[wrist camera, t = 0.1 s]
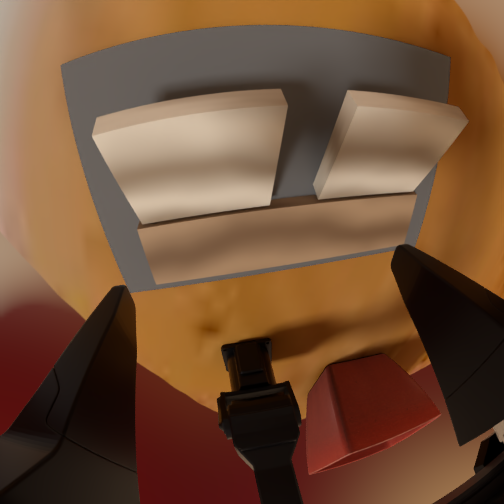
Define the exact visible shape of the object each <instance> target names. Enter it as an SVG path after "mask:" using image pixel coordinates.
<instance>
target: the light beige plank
mask: <svg viewBox="0 0 504 504" xmlns="http://www.w3.org/2000/svg"><path fill="white" fill-rule="evenodd" d="M468 122H469V120H468V119H467V118H466V116H465V115H464V113H463V112H462V111H461V109H460V108H459V107H457V106H453V105H449V104H444V103H440V102H435V101H430V100H425V99H419V98H413V97H407V96H400V95H393V94H385V93H376V92H366V91H355V90H347V93H346V96H345V98H344V101H343V104H342V107H341V110H340V113H339V115H338V118H337V121H336V124H335V127H334V129H333V132H332V135H331V138H330V140H329V143H328V146H327V149H326V151H325V154H324V157H323V159H322V162H321V165H320V167H319V170H318V173H317V175H316V178H315V181H314V183H313V186H314V189H315V192H316V195H317V198H318V200H320V199H329V198H339V197H350V196H361V195H372V194H385V193H398V192H413V191H414V190H415V188H416V187H417V186H418V185H419V184H420V183H421V181H422V180H423V179H424V178H425V177H426V175H427V174H428V173H429V172H430V171H431V169H432V168H433V167H434V166H435V165H436V163H437V162H438V161H439V160H440V158H441V157H442V156H443V155H444V153H445V152H446V151H447V150H448V148H449V147H450V146H451V144H452V143H453V142H454V141H455V139H456V138H457V137H458V135H459V134H460V133H461V131H462V130H463V129H464V127H465V126H466V125H467V123H468Z"/></svg>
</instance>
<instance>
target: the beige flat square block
mask: <svg viewBox="0 0 504 504" xmlns="http://www.w3.org/2000/svg"><path fill="white" fill-rule="evenodd" d="M287 108H288V104H287V102H286V100H285V97H284V95H283V93H282V90H281V89H262V90H246V91H234V92H224V93H215V94H207V95H199V96H192V97H186V98H180V99H174V100H168V101H163V102H158V103H153V104H148V105H143V106H139V107H135V108H130V109H126V110H122V111H118V112H115V113H111V114H107V115H104V116H100V117H97V118H96V122H95V125H94V129H93V133H92V138H93V140H94V141H95V143H96V145H97V147H98V149H99V151H100V153H101V154H102V156H103V158H104V160H105V162H106V164H107V165H108V167H109V169H110V171H111V172H112V174H113V176H114V178H115V179H116V181H117V183H118V185H119V186H120V188H121V190H122V191H123V193H124V195H125V196H126V198H127V200H128V202H129V203H130V205H131V206H132V208H133V210H134V211H135V213H136V215H137V216H138V218H139V220H140V221H141V223H142V224H148V223H154V222H160V221H166V220H172V219H178V218H184V217H190V216H197V215H203V214H210V213H217V212H224V211H231V210H238V209H245V208H253V207H260V206H268V205H270V201H271V196H272V191H273V185H274V180H275V174H276V169H277V163H278V158H279V153H280V147H281V141H282V136H283V130H284V125H285V119H286V114H287Z"/></svg>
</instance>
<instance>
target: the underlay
mask: <svg viewBox="0 0 504 504" xmlns="http://www.w3.org/2000/svg"><path fill="white" fill-rule="evenodd" d="M450 59H451V57H448V56H445V55H443V54H440V53H437V52H434V51H431V50H428V49H424V48H421V47H418V46H414V45H411V44H407V43H403V42H400V41H396V40H391V39H387V38H383V37H378V36H373V35H368V34H362V33H357V32H350V31H344V30H336V29H328V28H318V27H306V26H288V25H244V26H227V27H214V28H205V29H196V30H189V31H182V32H176V33H170V34H164V35H159V36H154V37H150V38H145V39H141V40H136V41H132V42H129V43H125V44H121V45H117V46H114V47H110V48H107V49H104V50H101V51H98V52H95V53H92V54H89V55H86V56H83V57H80V58H77V59H75V60H72V61H70V62H67V63H65V64H62V65H61V71H62V78H63V84H64V90H65V95H66V101H67V106H68V111H69V115H70V120H71V124H72V129H73V133H74V137H75V141H76V145H77V149H78V152H79V156H80V160H81V163H82V167H83V170H84V173H85V177H86V180H87V183H88V186H89V189H90V193H91V196H92V199H93V202H94V205H95V207H96V210H97V213H98V216H99V219H100V221H101V224H102V227H103V230H104V232H105V235H106V237H107V240H108V242H109V245H110V248H111V250H112V252H113V255H114V257H115V260H116V262H117V264H118V267H119V269H120V271H121V274H122V276H123V278H124V280H125V283H126V285H127V287H128V289H129V291H130V293H133V292H141V291H148V290H155V289H163V288H170V287H177V286H184V285H191V284H197V283H204V282H211V281H217V280H224V279H231V278H237V277H243V276H250V275H256V274H262V273H268V272H275V271H281V270H287V269H293V268H299V267H305V266H310V265H316V264H322V263H328V262H334V261H339V260H345V259H350V258H356V257H361V256H367V255H372V254H378V253H383V252H388V251H394V250H395V249H396V247H397V246H393V247H388V248H382V249H376V250H371V251H365V252H360V253H354V254H348V255H342V256H336V257H331V258H325V259H319V260H313V261H307V262H301V263H295V264H289V265H283V266H276V267H270V268H264V269H258V270H251V271H245V272H238V273H232V274H226V275H219V276H212V277H206V278H199V279H192V280H185V281H179V282H172V283H165V284H158V285H156V283H155V280H154V277H153V275H152V272H151V269H150V266H149V263H148V261H147V258H146V255H145V252H144V249H143V246H142V243H141V240H140V237H139V234H138V231H137V228H138V225H139V221H140V220H139V218H138V216H137V215H136V213H135V211H134V210H133V208H132V206H131V205H130V203H129V202H128V200H127V198H126V196H125V195H124V193H123V191H122V190H121V188H120V186H119V185H118V183H117V181H116V179H115V178H114V176H113V174H112V172H111V171H110V169H109V167H108V165H107V164H106V162H105V160H104V158H103V156H102V154H101V153H100V151H99V149H98V147H97V145H96V143H95V141H94V140H93V138H92V133H93V129H94V125H95V122H96V118H97V117H100V116H104V115H107V114H111V113H115V112H118V111H122V110H126V109H130V108H135V107H139V106H143V105H148V104H153V103H158V102H163V101H168V100H174V99H180V98H186V97H192V96H199V95H207V94H215V93H224V92H234V91H246V90H262V89H281V90H282V93H283V95H284V97H285V100H286V102H287V104H288V108H287V114H286V119H285V125H284V130H283V136H282V141H281V147H280V153H279V158H278V163H277V169H276V174H275V180H274V185H273V191H272V196H271V200H273V199H281V198H290V197H299V196H308V195H316V192H315V189H314V186H313V183H314V181H315V178H316V175H317V173H318V170H319V167H320V165H321V162H322V159H323V157H324V154H325V151H326V149H327V146H328V143H329V140H330V138H331V135H332V132H333V129H334V127H335V124H336V121H337V118H338V115H339V113H340V110H341V107H342V104H343V101H344V98H345V96H346V93H347V90H355V91H366V92H376V93H385V94H393V95H400V96H407V97H413V98H419V99H425V100H430V101H435V102H440V103H444V104H447V100H448V90H449V78H450ZM437 163H438V162H437ZM437 163H436V165H435V166H434V167H433V168H432V169H431V171H430V172H429V173H428V174H427V175H426V177H425V178H424V179H423V180H422V181H421V183H420V184H419V185H418V186H417V187H416V188H415V190H414V192H415V193H416V194H417V198H416V202H415V206H414V210H413V214H412V217H411V221H410V225H409V228H408V232H407V235H406V238H405V242H404V244H409V245H411V246H413V247H414V246H415V245H416V242H417V239H418V236H419V233H420V229H421V226H422V223H423V219H424V216H425V212H426V209H427V205H428V201H429V198H430V194H431V190H432V186H433V181H434V177H435V173H436V168H437Z"/></svg>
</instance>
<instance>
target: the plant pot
mask: <svg viewBox="0 0 504 504" xmlns="http://www.w3.org/2000/svg"><path fill="white" fill-rule="evenodd" d="M440 415H441V413H440V411H439V410H438V408H437V407H436V406H435V404H434V403H433V402H432V400H431V399H430V398H429V397H428V395H427V394H426V393H425V392H424V391H423V389H422V388H421V387H420V386H419V385H418V384H417V382H416V381H415V380H414V379H413V378H412V377H411V376H410V375H409V374H408V373H407V372H406V371H404V370H403V369H402V368H401V367H400V366H399V365H398V364H397V363H395V362H394V361H393V360H392V359H391V358H389V357H388V356H387V355H386V354H379V355H375V356H371V357H366V358H362V359H357V360H352V361H347V362H342V363H338V364H332V365H329V366H328V367H326V368H325V370H324V371H323V373H322V374H321V376H320V377H319V379H318V380H317V382H316V383H315V385H314V386H313V388H312V389H311V391H310V392H309V393H308V398H307V412H306V448H307V462H308V471H309V475H310V474H315V473H319V472H322V471H326V470H329V469H333V468H336V467H339V466H343V465H346V464H348V463H352V462H355V461H357V460H360V459H363V458H365V457H368V456H370V455H373V454H376V453H378V452H380V451H383V450H385V449H387V448H390V447H391V446H393V445H395V444H397V443H399V442H400V441H402V440H404V439H405V438H407V437H409V436H410V435H412V434H413V433H415V432H417V431H418V430H420V429H421V428H423V427H424V426H426V425H427V424H429V423H431V422H432V421H433V420H435V419H436V418H438V417H439V416H440Z"/></svg>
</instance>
